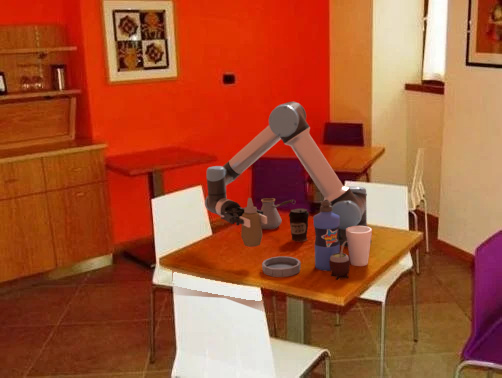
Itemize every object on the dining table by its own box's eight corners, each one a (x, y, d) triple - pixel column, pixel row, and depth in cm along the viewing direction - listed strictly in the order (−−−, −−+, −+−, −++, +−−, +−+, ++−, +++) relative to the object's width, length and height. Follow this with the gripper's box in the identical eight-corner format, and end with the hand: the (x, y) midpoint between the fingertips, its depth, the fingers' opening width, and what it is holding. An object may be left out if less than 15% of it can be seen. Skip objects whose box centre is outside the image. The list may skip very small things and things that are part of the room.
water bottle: (344, 268, 219) (343, 201, 213) (320, 272, 216) (319, 204, 211) (334, 260, 227) (332, 196, 222) (311, 264, 225) (309, 199, 219)
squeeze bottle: (255, 249, 221) (253, 201, 217) (237, 246, 225) (234, 199, 221) (267, 243, 228) (264, 196, 224) (249, 240, 232) (246, 194, 228)
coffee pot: (251, 228, 275) (249, 196, 272) (268, 222, 283) (267, 191, 280) (286, 236, 260) (285, 202, 257) (303, 229, 268) (302, 197, 265)
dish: (303, 264, 225) (303, 257, 224) (296, 277, 212) (296, 270, 212) (267, 263, 229) (267, 255, 228) (258, 276, 216) (258, 268, 215)
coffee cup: (308, 243, 249) (307, 213, 246) (288, 243, 251) (287, 212, 248) (310, 236, 258) (309, 207, 255) (291, 236, 259) (290, 207, 256)
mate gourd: (333, 272, 216) (332, 232, 213) (354, 275, 212) (354, 234, 209) (326, 279, 210) (325, 238, 206) (348, 282, 206) (347, 240, 203)
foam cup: (343, 266, 221) (342, 232, 218) (349, 257, 230) (348, 225, 227) (369, 268, 218) (369, 233, 215) (374, 259, 226) (374, 226, 223)
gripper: (250, 214, 245) (280, 227, 225) (207, 223, 236) (234, 236, 216) (249, 196, 243) (279, 207, 224) (205, 204, 234) (233, 216, 214)
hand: (257, 221), depth 220 cm, fingers closed on squeeze bottle, 6 cm apart
